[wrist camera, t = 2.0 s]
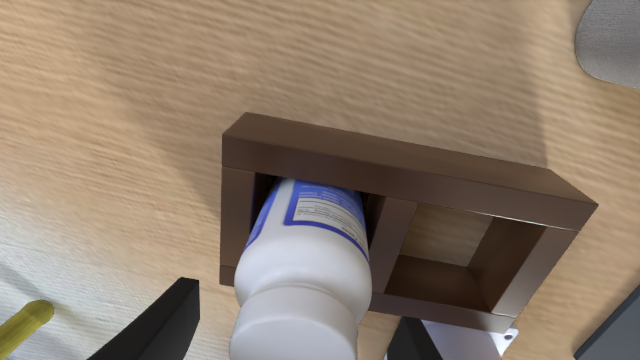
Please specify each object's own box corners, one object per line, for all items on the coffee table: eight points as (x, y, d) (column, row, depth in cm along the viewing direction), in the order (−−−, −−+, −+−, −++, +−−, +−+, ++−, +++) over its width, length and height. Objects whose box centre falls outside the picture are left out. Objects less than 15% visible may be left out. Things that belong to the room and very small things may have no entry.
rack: (479, 287, 20) (504, 335, 17) (238, 243, 20) (218, 284, 17) (550, 169, 16) (599, 204, 13) (245, 111, 16) (221, 133, 13)
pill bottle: (300, 247, 20) (267, 424, 11) (252, 181, 18) (166, 336, 9) (377, 216, 18) (409, 392, 10) (335, 140, 16) (327, 278, 7)
